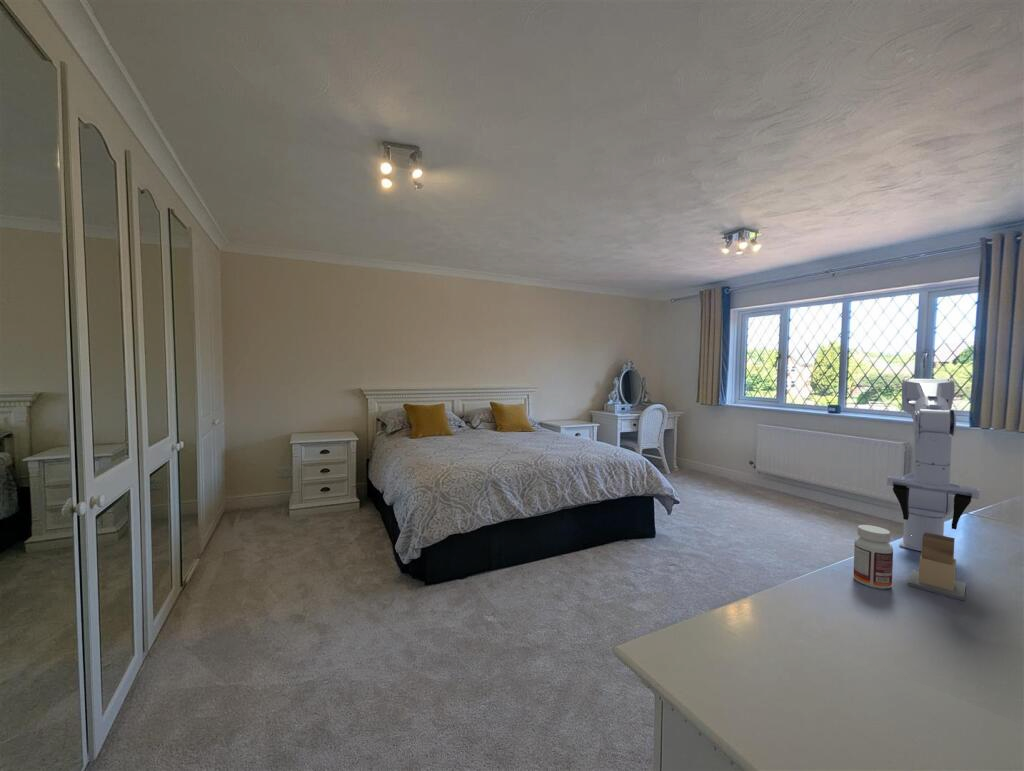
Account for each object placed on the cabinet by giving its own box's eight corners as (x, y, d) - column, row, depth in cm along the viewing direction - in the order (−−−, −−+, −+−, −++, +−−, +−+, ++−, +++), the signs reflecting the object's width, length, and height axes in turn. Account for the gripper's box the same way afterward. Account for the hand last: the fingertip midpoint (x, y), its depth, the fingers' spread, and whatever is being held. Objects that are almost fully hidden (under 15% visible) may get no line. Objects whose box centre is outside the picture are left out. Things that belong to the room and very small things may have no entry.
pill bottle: (893, 583, 88) (895, 529, 88) (890, 593, 84) (892, 537, 84) (855, 572, 93) (857, 521, 92) (850, 582, 88) (852, 528, 88)
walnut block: (923, 552, 91) (924, 531, 90) (953, 559, 87) (954, 538, 87) (921, 557, 88) (922, 536, 88) (952, 565, 84) (953, 543, 84)
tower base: (912, 571, 94) (913, 546, 93) (965, 585, 88) (966, 559, 87) (907, 584, 88) (908, 558, 87) (963, 600, 82) (965, 572, 81)
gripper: (886, 459, 97) (883, 518, 98) (980, 471, 86) (977, 537, 87) (890, 456, 102) (888, 512, 102) (980, 466, 91) (977, 529, 91)
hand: (929, 523), depth 95 cm, fingers open, 7 cm apart
